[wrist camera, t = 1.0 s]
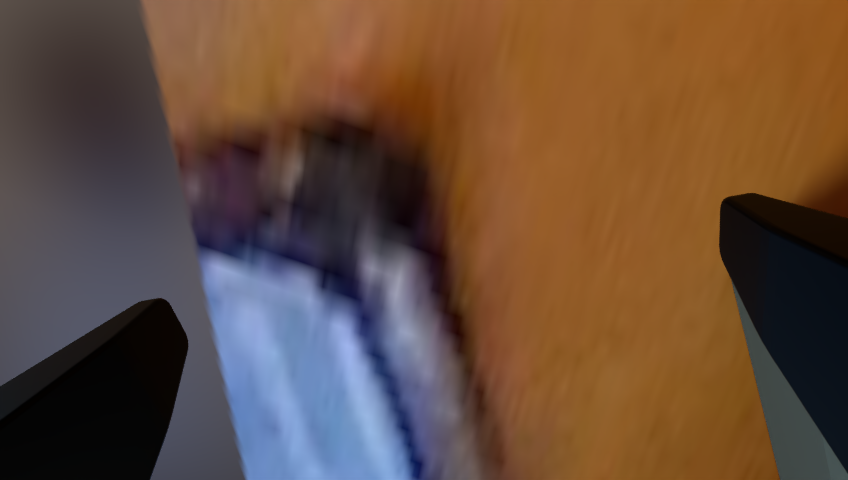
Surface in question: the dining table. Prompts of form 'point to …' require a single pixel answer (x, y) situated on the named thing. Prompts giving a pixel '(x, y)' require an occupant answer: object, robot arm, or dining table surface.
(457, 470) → the dining table surface
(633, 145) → the dining table surface
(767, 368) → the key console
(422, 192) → the dining table surface
